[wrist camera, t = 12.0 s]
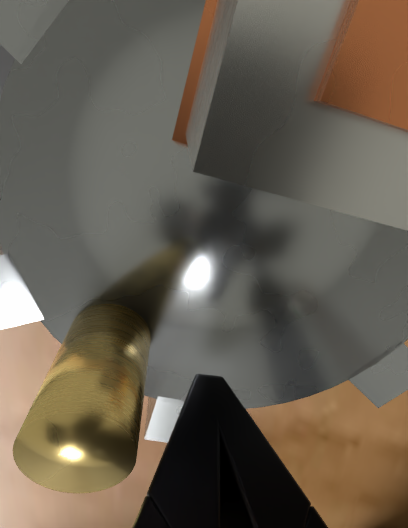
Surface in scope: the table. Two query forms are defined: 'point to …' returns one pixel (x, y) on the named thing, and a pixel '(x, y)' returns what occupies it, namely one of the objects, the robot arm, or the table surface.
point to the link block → (308, 103)
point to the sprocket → (163, 247)
